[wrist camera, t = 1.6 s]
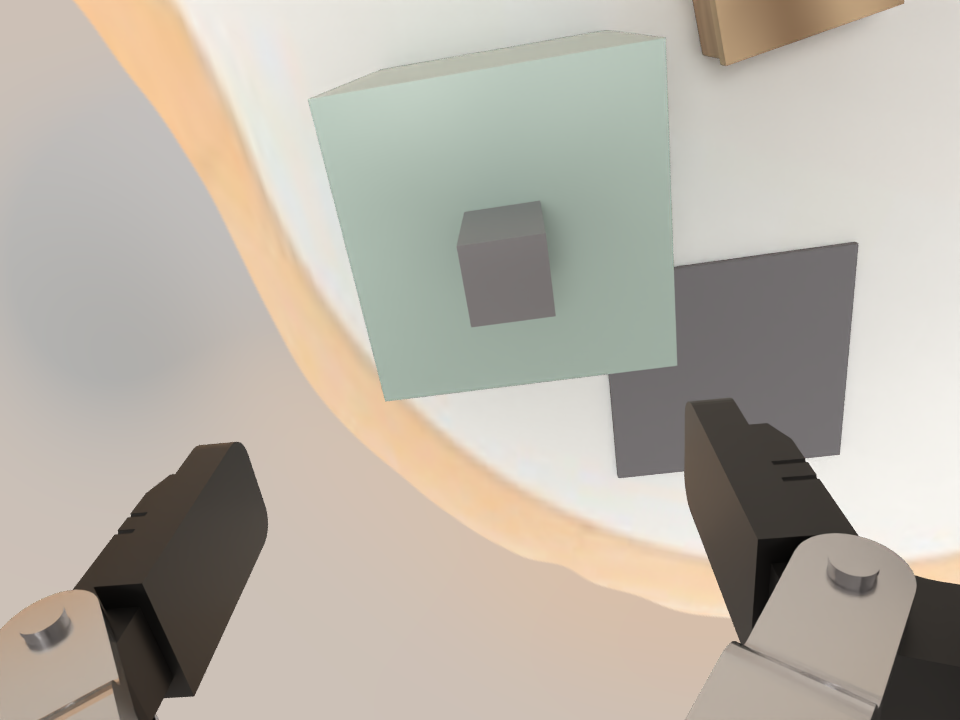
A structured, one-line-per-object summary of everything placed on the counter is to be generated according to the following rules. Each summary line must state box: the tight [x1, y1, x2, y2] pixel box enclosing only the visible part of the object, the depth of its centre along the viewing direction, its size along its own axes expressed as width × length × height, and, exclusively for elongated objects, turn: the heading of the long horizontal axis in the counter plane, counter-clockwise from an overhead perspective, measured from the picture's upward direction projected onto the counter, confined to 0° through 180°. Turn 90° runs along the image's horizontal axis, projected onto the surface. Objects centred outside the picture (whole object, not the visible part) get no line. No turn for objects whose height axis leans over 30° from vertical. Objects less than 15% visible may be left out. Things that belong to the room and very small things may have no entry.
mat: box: [609, 242, 858, 478], centre depth 47 cm, size 16×16×1 cm
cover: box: [308, 30, 677, 401], centre depth 32 cm, size 13×13×20 cm
